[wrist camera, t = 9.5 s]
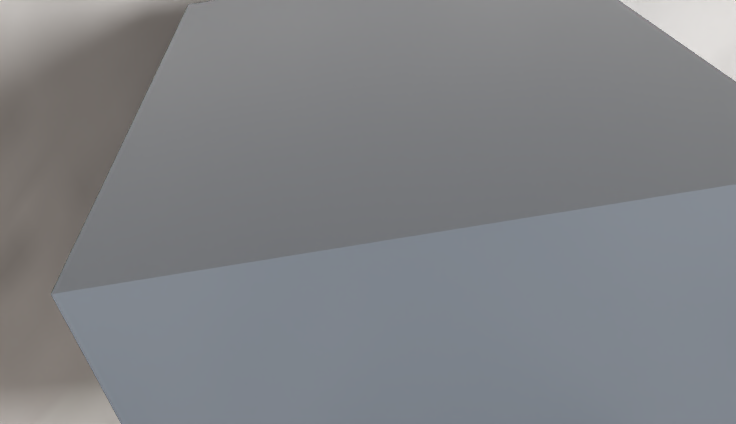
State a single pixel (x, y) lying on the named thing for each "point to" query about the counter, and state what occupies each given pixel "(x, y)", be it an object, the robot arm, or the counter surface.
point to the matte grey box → (416, 221)
